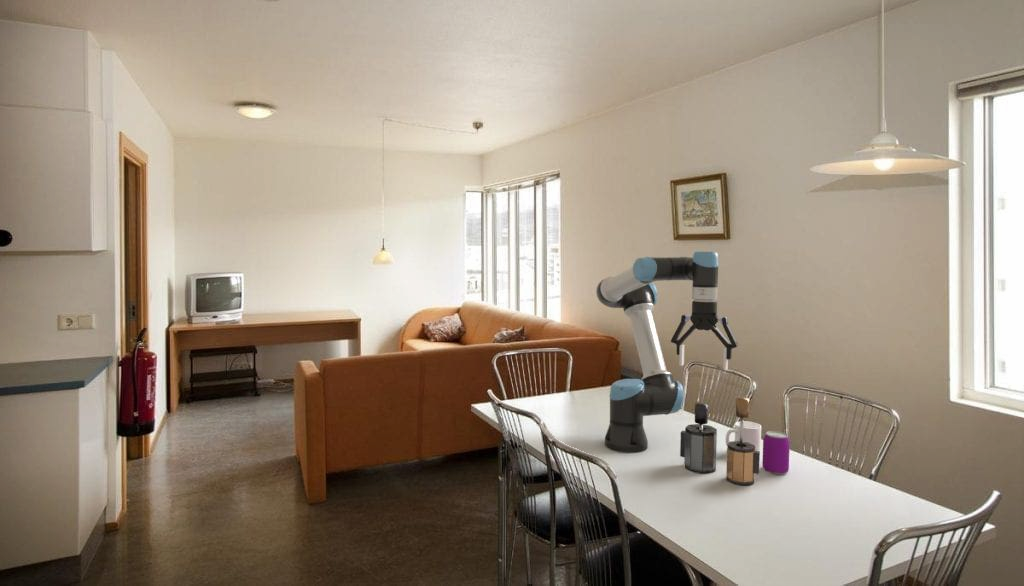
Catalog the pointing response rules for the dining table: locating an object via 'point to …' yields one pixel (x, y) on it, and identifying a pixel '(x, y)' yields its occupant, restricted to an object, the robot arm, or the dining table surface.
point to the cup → (747, 434)
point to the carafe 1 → (699, 448)
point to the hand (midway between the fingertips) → (703, 367)
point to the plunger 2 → (742, 413)
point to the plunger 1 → (701, 414)
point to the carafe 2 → (742, 463)
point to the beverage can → (776, 452)
